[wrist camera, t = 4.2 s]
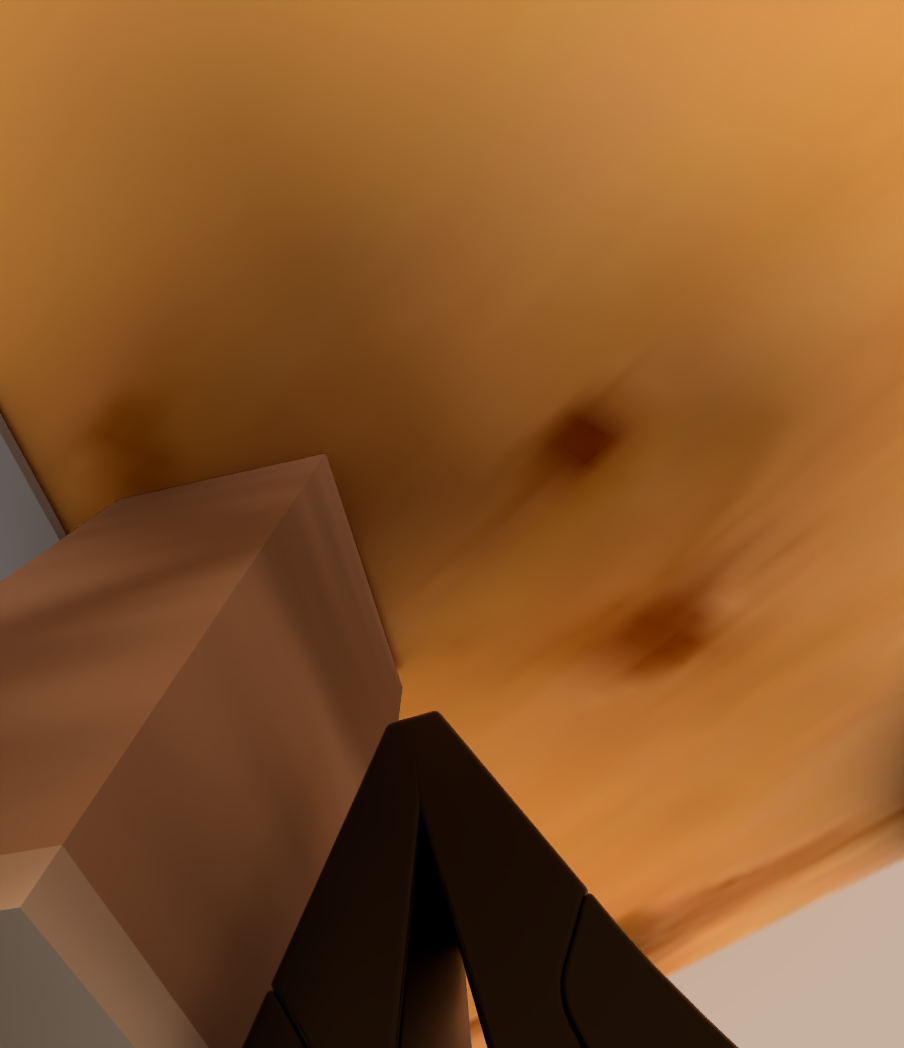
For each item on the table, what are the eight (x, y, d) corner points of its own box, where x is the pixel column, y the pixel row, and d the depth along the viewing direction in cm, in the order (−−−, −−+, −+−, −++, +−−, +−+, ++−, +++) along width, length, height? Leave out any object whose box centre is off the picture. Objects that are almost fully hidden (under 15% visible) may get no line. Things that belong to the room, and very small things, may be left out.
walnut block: (326, 453, 12) (19, 906, 3) (402, 687, 14) (330, 1286, 6) (118, 499, 12) (-606, 1004, 4) (227, 719, 14) (-74, 1323, 6)
